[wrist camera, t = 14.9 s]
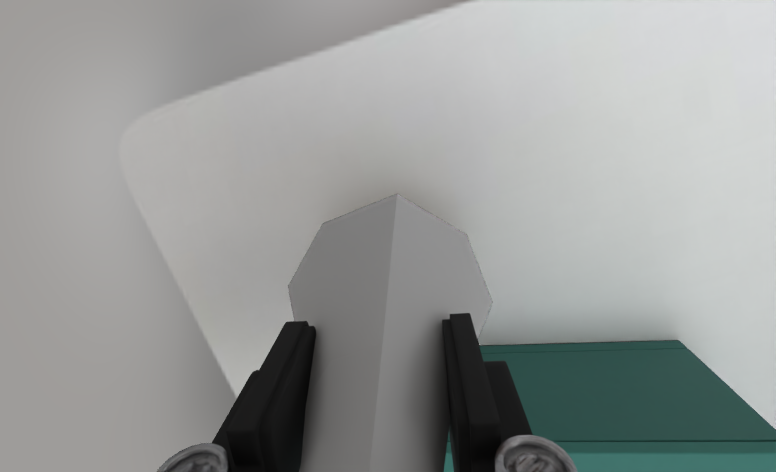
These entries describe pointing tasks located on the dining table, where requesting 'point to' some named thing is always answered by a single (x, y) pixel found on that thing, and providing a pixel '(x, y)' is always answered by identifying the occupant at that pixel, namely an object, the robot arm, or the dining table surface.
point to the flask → (383, 336)
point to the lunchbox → (626, 394)
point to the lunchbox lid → (665, 456)
